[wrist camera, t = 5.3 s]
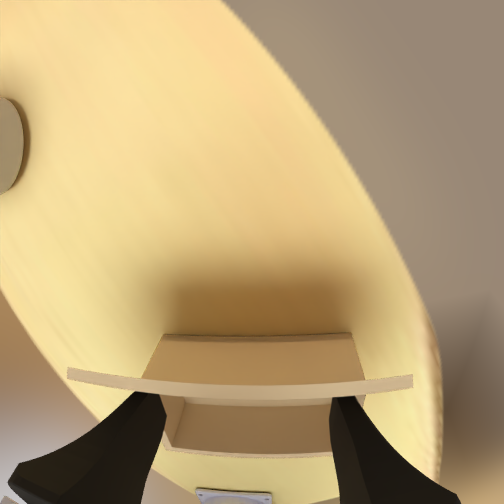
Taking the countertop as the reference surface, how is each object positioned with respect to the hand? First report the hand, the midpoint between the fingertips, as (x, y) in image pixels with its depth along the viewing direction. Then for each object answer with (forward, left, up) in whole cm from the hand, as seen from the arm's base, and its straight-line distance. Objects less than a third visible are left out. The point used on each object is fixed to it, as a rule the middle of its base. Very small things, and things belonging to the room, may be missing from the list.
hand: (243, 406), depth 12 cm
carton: (-4, 0, -6) cm, 7 cm away
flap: (+1, 0, +1) cm, 1 cm away
